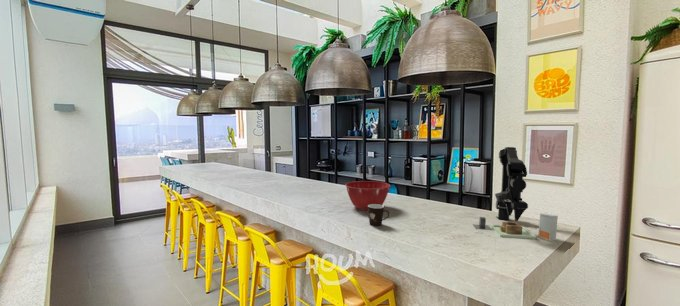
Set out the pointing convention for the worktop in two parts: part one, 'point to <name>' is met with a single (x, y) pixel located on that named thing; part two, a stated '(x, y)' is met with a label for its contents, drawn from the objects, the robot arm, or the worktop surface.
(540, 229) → the skincare box
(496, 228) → the tray
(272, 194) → the worktop surface
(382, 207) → the coffee mug
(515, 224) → the wooden lantern frame
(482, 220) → the grey upright post
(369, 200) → the mixing bowl
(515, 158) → the robot arm
